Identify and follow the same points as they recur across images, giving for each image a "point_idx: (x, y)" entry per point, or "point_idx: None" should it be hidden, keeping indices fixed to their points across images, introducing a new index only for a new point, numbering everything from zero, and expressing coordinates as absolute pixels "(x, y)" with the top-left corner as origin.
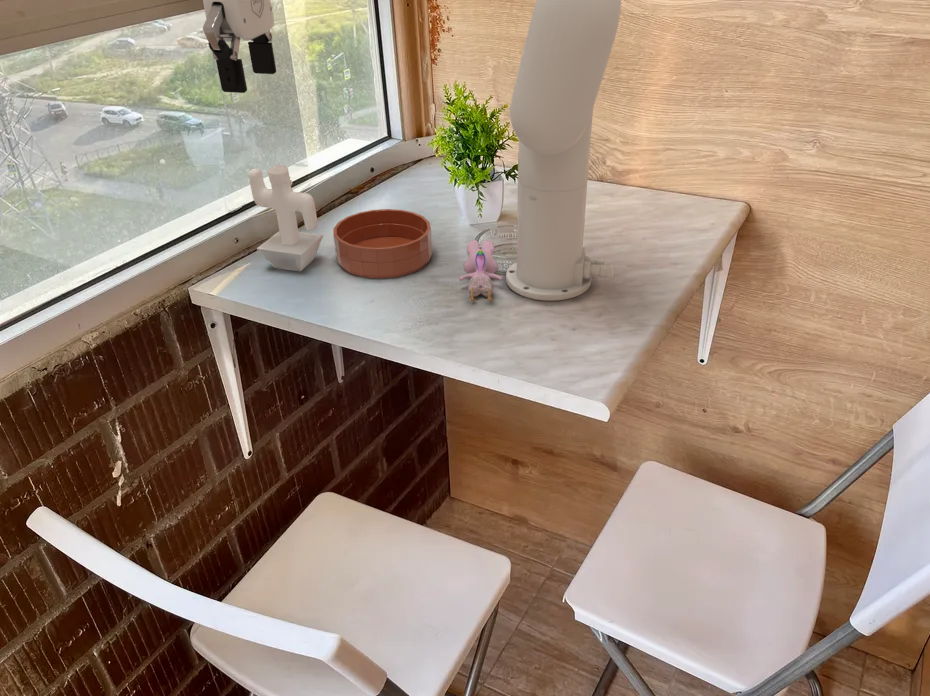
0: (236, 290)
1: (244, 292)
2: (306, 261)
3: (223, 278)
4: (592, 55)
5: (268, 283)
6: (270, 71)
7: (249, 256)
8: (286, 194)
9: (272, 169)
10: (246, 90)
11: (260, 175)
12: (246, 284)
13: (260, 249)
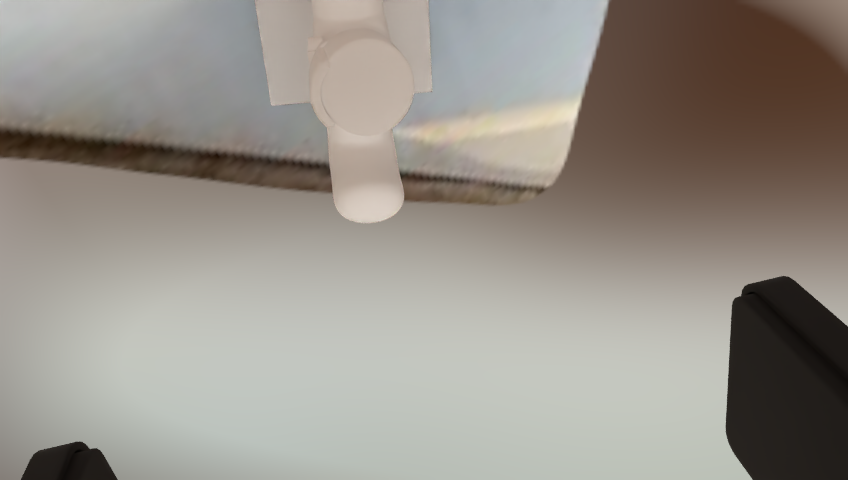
0: (544, 65)
1: (550, 36)
2: None
3: (492, 141)
4: None
5: (483, 2)
6: (100, 476)
7: None
8: (376, 23)
9: (375, 113)
10: (764, 281)
11: (365, 174)
12: (506, 60)
13: (430, 78)
